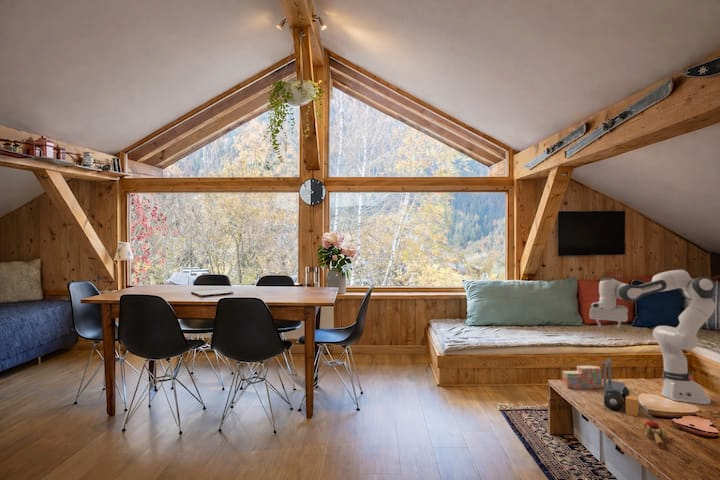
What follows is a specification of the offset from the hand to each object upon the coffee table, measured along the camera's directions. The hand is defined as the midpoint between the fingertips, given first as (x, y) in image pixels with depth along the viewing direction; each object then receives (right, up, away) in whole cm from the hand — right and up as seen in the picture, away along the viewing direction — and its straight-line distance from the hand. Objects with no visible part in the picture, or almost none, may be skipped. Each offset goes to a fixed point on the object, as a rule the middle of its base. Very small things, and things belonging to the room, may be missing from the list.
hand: (608, 327), depth 267 cm
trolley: (-11, -37, -27) cm, 47 cm away
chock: (-10, -37, -39) cm, 54 cm away
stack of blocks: (-14, -38, +5) cm, 40 cm away
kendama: (-18, -37, -70) cm, 81 cm away
